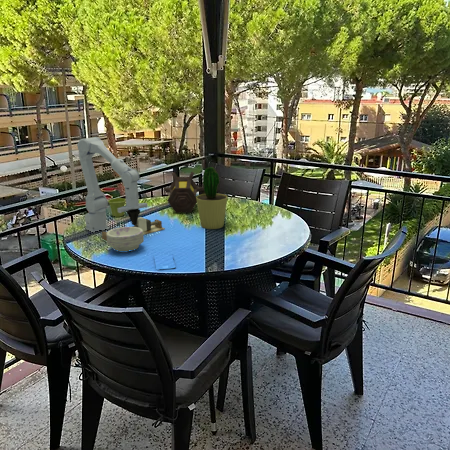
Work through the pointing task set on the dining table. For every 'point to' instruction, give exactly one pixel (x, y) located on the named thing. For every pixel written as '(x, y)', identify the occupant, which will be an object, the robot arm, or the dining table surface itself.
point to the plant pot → (116, 206)
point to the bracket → (148, 224)
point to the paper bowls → (125, 238)
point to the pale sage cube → (142, 223)
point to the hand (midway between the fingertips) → (134, 224)
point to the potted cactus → (211, 201)
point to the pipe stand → (154, 228)
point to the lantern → (183, 193)
